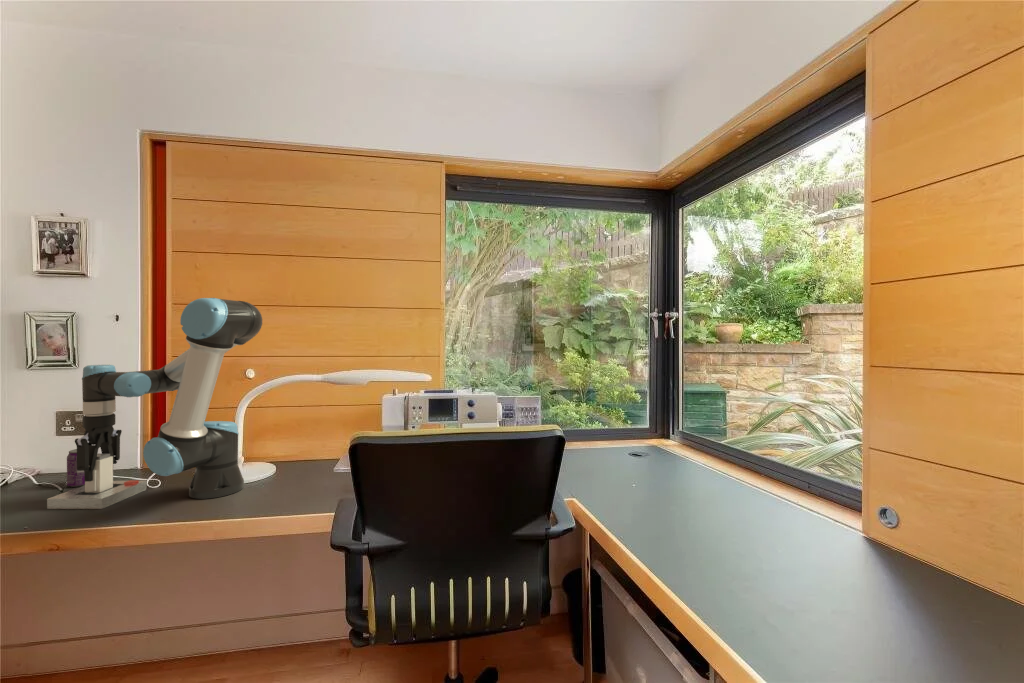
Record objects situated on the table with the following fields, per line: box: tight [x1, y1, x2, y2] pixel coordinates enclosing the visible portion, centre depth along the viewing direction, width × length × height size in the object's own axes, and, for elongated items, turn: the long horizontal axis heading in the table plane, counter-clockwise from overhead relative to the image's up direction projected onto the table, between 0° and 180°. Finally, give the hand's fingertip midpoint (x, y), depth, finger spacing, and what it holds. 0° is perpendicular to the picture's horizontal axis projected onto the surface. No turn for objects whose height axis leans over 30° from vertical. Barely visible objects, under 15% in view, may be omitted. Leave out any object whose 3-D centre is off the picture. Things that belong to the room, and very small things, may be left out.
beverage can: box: [66, 448, 85, 488], centre depth 150 cm, size 7×7×12 cm
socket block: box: [46, 479, 147, 510], centre depth 137 cm, size 16×16×4 cm
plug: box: [85, 453, 114, 493], centre depth 137 cm, size 4×4×11 cm
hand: (99, 487), depth 137 cm, fingers closed on plug, 4 cm apart
